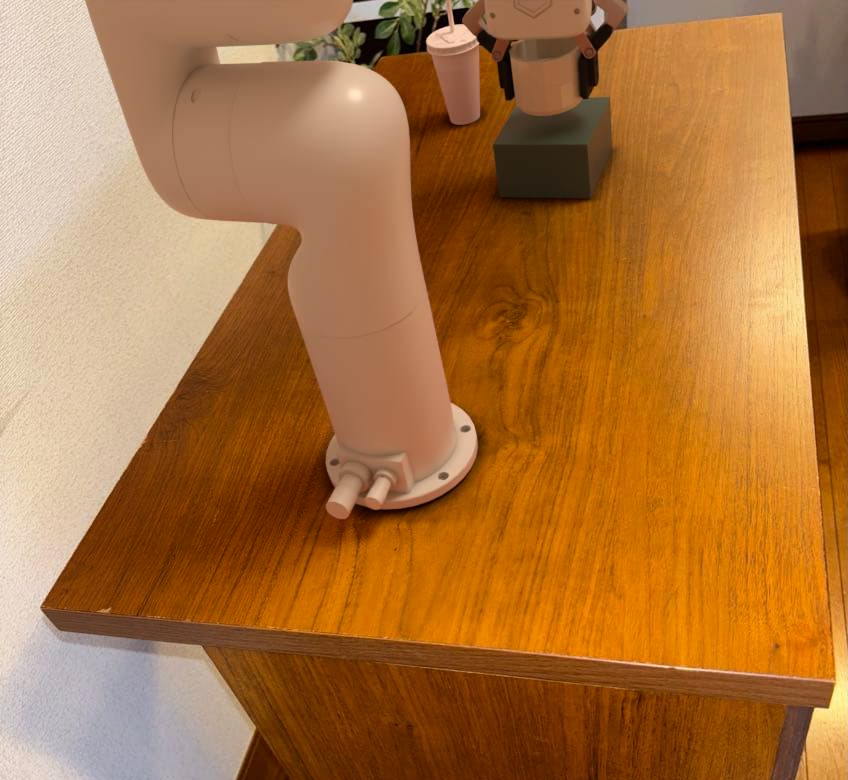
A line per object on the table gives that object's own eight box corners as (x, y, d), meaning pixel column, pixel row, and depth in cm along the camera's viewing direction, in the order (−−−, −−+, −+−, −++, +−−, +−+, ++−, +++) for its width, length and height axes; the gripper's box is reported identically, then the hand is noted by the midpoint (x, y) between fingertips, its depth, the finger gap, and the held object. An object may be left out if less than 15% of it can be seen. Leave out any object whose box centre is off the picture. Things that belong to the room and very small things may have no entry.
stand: (590, 199, 102) (587, 144, 98) (499, 197, 106) (492, 144, 101) (612, 150, 108) (610, 96, 104) (525, 150, 112) (519, 98, 107)
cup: (575, 117, 98) (572, 61, 94) (507, 118, 100) (500, 63, 96) (593, 83, 102) (590, 28, 98) (526, 85, 105) (521, 31, 101)
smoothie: (492, 101, 121) (476, -20, 111) (489, 126, 117) (473, 2, 107) (441, 108, 123) (421, -11, 112) (437, 133, 118) (415, 11, 108)
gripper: (428, -79, 89) (459, 112, 102) (619, -96, 82) (626, 110, 95) (455, -109, 93) (481, 79, 106) (638, -127, 87) (642, 74, 100)
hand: (549, 92), depth 101 cm, fingers closed on cup, 7 cm apart
